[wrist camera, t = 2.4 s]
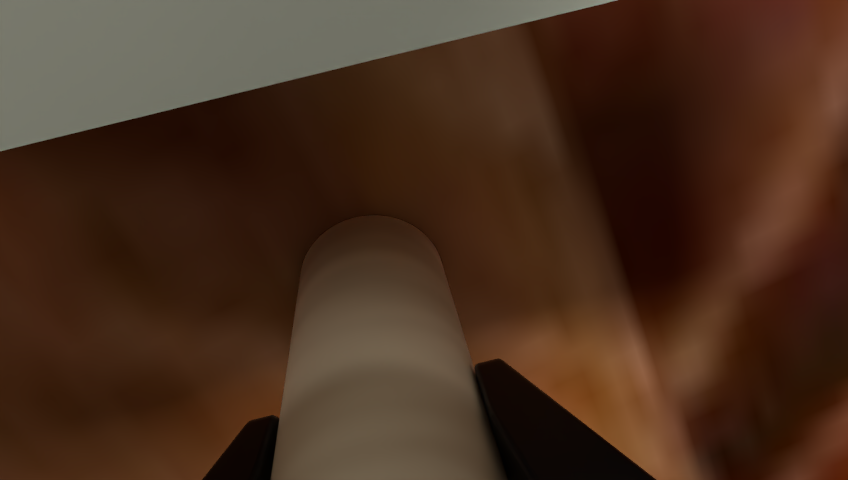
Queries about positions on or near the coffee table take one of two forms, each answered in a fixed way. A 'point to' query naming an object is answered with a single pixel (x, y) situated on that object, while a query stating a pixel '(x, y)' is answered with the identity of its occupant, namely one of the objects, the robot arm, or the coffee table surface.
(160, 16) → the hole block
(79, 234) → the coffee table surface
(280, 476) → the beech peg
